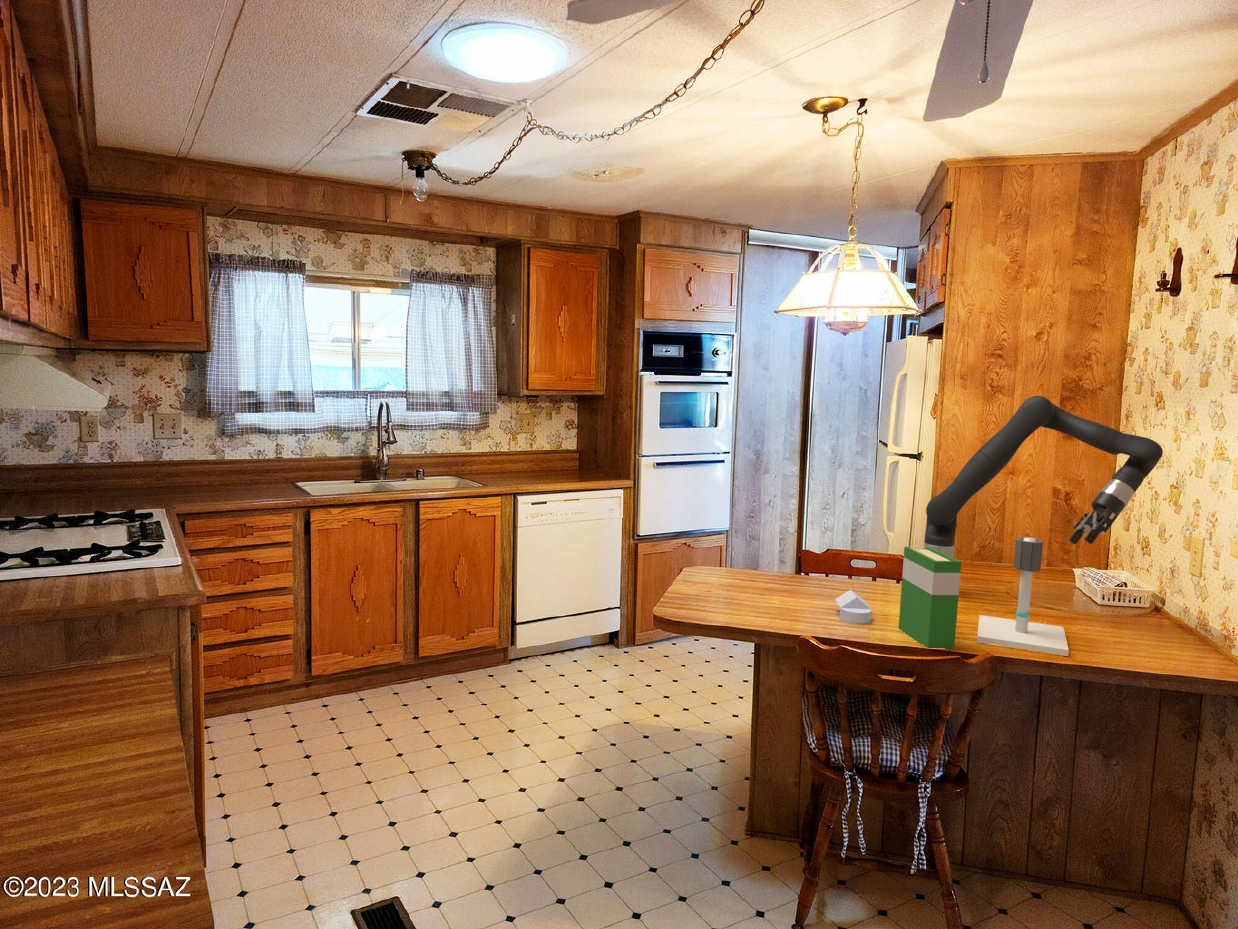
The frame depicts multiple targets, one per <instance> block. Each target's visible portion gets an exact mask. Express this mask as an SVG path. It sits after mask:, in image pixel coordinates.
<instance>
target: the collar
mask: <svg viewBox="0 0 1238 929" xmlns="http://www.w3.org/2000/svg"><path fill="white" fill-rule="evenodd" d="M1024 538H1025V537H1017V538H1016V539H1015V549H1014V557H1013V558H1014V560H1013V568H1014V569H1016V570H1019V571H1021V570H1023V571H1031V572H1033V573H1034V572H1041V568H1042V559H1043V558H1042V557H1043V547H1044V541H1043V540H1040V539H1037V538H1035V539H1036V542H1029V541H1024Z"/></svg>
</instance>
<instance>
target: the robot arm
mask: <svg viewBox="0 0 1238 929" xmlns="http://www.w3.org/2000/svg"><path fill="white" fill-rule="evenodd" d="M1040 427H1041V428H1045V429H1050V430H1054V431H1056V432H1059V433H1062V434H1064V435H1067V436H1070V437H1073V438H1074V439H1076V440H1077V441H1078V440H1079V441H1080V442H1082V443H1084V444H1086V445H1088V446H1091V447H1093V448H1095V449H1098V450H1100V451H1103V452H1105V453H1108V454H1110V455H1113V456H1117V455H1120V454H1123V455H1126V456H1129V457H1128V458H1127V460H1126V461H1125V463H1124V464H1123V465H1122V466H1121V467H1120V468H1119V469H1118V470H1117V471H1115V473H1114V474H1113V476H1112V477H1111V478H1110V480H1109V481H1108V482H1107V483H1106V484H1105V485H1104V486H1103V487H1102V489H1101V490H1100V491H1099V493H1098V494H1096V497H1095V498H1094V499H1093V500H1092V502H1091V508H1092V509H1093V510H1092V511H1091V512H1090V513H1089V514H1088V513H1087V512H1085V513H1083V515H1082V516H1081V517H1080V518H1079V520H1078V521H1077V522H1076V524H1074V526H1073V527H1072V529H1074V532H1073V533H1072V535H1071V536H1070V537H1069V539H1068V541H1069V542H1070V543H1072V545H1076V544H1078V543H1079V542H1080V540H1082V539H1081V538H1082V537H1083V536H1084V535H1085V534H1086V533H1087V532H1088V533H1087V535H1086V536H1085V538H1084V541H1085V542H1086V543H1088V544H1089V545H1090V544H1093V543H1094V542H1095V540H1096V539H1097V538H1098V536H1099V535H1102V534H1103V533H1106V532H1108V531H1109V529H1110V528H1111V526H1112V525H1113V523H1114V522H1115V521H1116V520H1117V518H1118V517H1119V515H1120V514H1121V513H1122V512H1123V511H1124V509H1125V508H1126V507H1127V505H1128V504H1129V502H1130V501H1131V499H1132V498H1133V497H1134V494H1135V493H1136V491H1137V490H1138V489H1139V487H1140V486H1141V485H1142V484H1143V482H1144V479H1145V478H1147V476H1149V474H1150V473H1151V472H1152V471H1153V470H1154V468H1156V465H1158V463H1159V461H1160V460H1161V458H1162V457H1163V455H1164V454H1163V453H1164V451H1163V447H1162V445H1161V444H1160V443H1158V442H1157V441H1155V440H1153V439H1151V438H1148V437H1144V436H1139V435H1135V434H1130V433H1124V432H1122V431H1119V430H1117V429H1115V428H1112V427H1110V426H1108V425H1104V424H1103V423H1099V422H1096V421H1093V420H1090V419H1086V418H1083V417H1081V416H1077V415H1075V414H1072V413H1070V412H1069V411H1066V410H1064V409H1062V407H1059V406H1058V405H1056V404H1054V403H1053V402H1052V401H1051V400H1050V399H1048V398H1047V397H1045V396H1042V395H1033V396H1030V397H1028V398H1026V399H1025V400H1024V401H1023V402H1022V403H1021V405H1020V406H1019V407H1018V409H1017V410H1016V411H1015V413H1014V414H1013V415H1012V417H1011V418H1010V419H1009V421H1008V422H1006V423H1005V425H1004V426H1003V427H1002V428H1001V429H1000V430H998V431H997V432H996V433H995V434H994V435H993V436H992V437H991V438H989V439H988V440H987V441H986V442H985V443H984V444H983V445H982V446H981V447H980V448H979V449H978V450H977V451H976V452H975V453H974V454H973V455H972V456H971V458H969V460H968V461H967V462H966V464H964V466H963V467H962V468H961V470H960V472H959V473H958V474H957V475H956V477H955V479H954V480H953V481H952V482H951V483H950V484H949V485H948V486H947V487H945V489H943V491H941V492H940V493H939V494H937V495H935V496H934V497H932V498H931V499H930V500H929V501H928V503H927V505H926V508H925V512H926V523H925V524H926V526H925V533H924V541H923V542H924V544H923V549H926V547H931V548H933V549H935V550H937V551H940V552H942V553H944V554H946V555H948V556H950V557H952V558H954V552H955V540H956V539H955V538H956V531H957V519H958V514H959V512H960V511H961V510H962V508H963V507H964V506H965V505H966V504H967V502H968V501H969V500H970V499H972V497H973V496H975V495H976V493H978V492H980V490H982V489H983V488H984V487H985V486H986V485H988V484H989V483H991V481H992V480H993V479H994V478H995V477H996V476H997V475H999V473H1001V471H1002V470H1003V469H1004V468H1005V467H1006V466H1007V465H1008V464H1009V463H1010V461H1011V460H1012V459H1013V457H1014V456H1015V454H1016V453H1017V451H1018V450H1019V448H1021V445H1022V444H1023V443H1024V442H1025V441H1026V440H1027V439H1028V438H1029V437H1030V436H1031V435H1032V434H1033V433H1035V431H1037V430H1038V429H1040Z"/></svg>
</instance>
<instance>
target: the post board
mask: <svg viewBox="0 0 1238 929" xmlns="http://www.w3.org/2000/svg"><path fill="white" fill-rule="evenodd" d="M1023 538H1024V541H1029V542H1036V539H1037V538H1035V537H1023ZM1033 573H1034V572H1031V571H1023V570H1020V575H1019V586H1018V588H1019V589H1018V596H1017V599H1018V600H1017V609H1016V611H1015V612H1016V613H1015V616H1016V618H1015V619H1010V618H1005V617H1004V618H1002V617H998V616H997V617H996V616H990V615H989V616H988V615H981V614H978V615H979V618H978V625H977V626H978V628H977V637H976V644H978V643H984V644H983V645H985V644H996V645H1002V646H1008V647H1015V648H1024V649H1029V650H1034V651H1041V652H1047V653H1051V654H1061V655H1064V656H1068V657H1069V646H1068V642H1067V638H1066V633H1065V629H1064V626H1060V625H1059V626H1058V625H1052V624H1045V623H1039V622H1031V621H1029V618H1030V615H1031V614H1030V613H1031V611H1030V606H1031V596H1032V594H1031V593H1032V585H1033V575H1034V574H1033Z"/></svg>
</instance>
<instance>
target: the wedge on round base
mask: <svg viewBox="0 0 1238 929" xmlns="http://www.w3.org/2000/svg"><path fill="white" fill-rule="evenodd" d="M834 600H835V602H836V604H837V605H838V607H839V620H841V621H842V622H846V623H849V624H853V623H857V624H856V625H867V624H870V623H871V622H872V608H871V607H870V606H869V604H867V601H866V600H865V599H863V598H862V597H860V596H859V595H858V594H857V593H855V592H854V591H853V590H852V589H849V590H848V591H846V592H844V593H843V594H841V595H840V596H838V597H837V598H835V599H834ZM869 622H870V623H869ZM866 623H867V624H866Z"/></svg>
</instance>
